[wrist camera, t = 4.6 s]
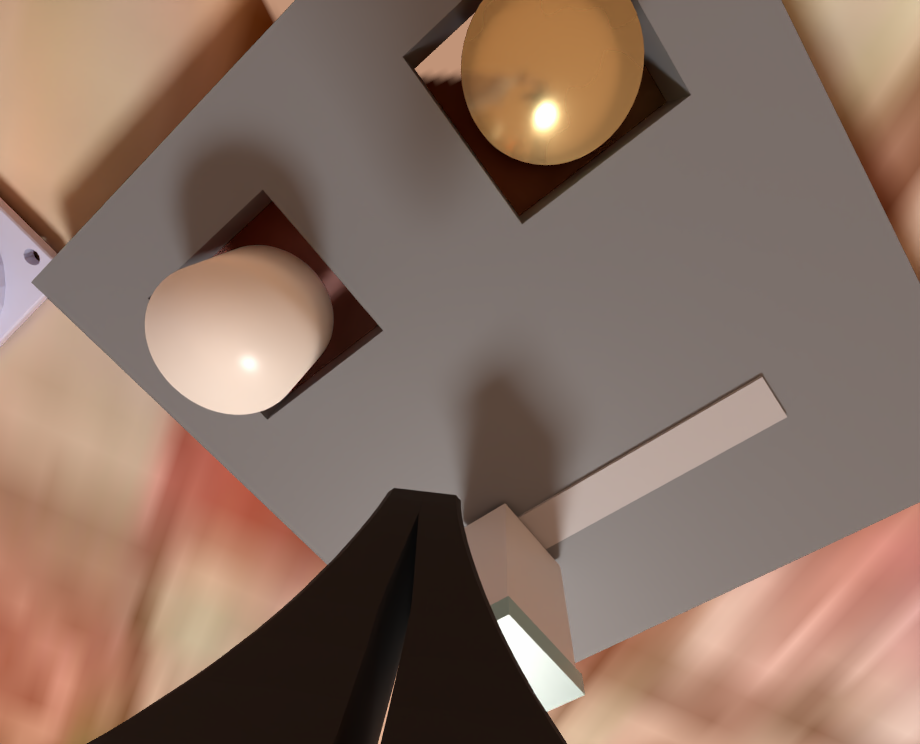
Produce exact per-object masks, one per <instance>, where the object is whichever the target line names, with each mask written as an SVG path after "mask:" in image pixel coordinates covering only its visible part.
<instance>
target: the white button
mask: <svg viewBox="0 0 920 744" xmlns="http://www.w3.org/2000/svg"><path fill="white" fill-rule="evenodd" d="M333 325H334V313H333V307H332V303H331V299H330V296H329V294H328V292H327V289H326V287H325V286H324V284H323V282H322V281H321V279H320V278H319V277H318V275H317V274H316V273H315V272H314V271H313V269H312V268H311V267H310V266H309V265H307V264H306V263H305V262H304V261H302V260H301V259H300V258H298V257H297V256H295V255H293V254H291V253H289V252H287V251H285V250H282V249H279V248H277V247H272V246H267V245H248V246H243V247H239V248H237V249H234V250H231V251H229V252H226V253H223V254H220V255H218V256H215V257H212V258H209V259H207V260H204V261H201V262H199V263H196V264H193V265H190V266H188V267H185V268H182V269H180V270H177V271H176V272H174V273H172V274H170V275H169V276H168V277H167V278H165V279H164V280H163V281H162V282H161V283H160V284H159V285H158V286H157V288H156V289H155V291H154V292H153V294H152V296H151V298H150V300H149V303H148V306H147V310H146V314H145V335H146V340H147V345H148V348H149V351H150V354H151V356H152V358H153V360H154V362H155V364H156V366H157V367H158V369H159V371H160V372H161V373H162V375H163V376H164V377H165V379H166V380H167V381H168V382H169V383H170V384H171V385H172V386H173V387H174V388H175V389H176V390H177V391H178V392H179V393H181V394H182V395H183V396H185V397H186V398H188V399H189V400H191V401H192V402H194V403H196V404H198V405H200V406H202V407H204V408H207V409H209V410H212V411H216V412H220V413H225V414H233V415H245V414H252V413H257V412H260V411H263V410H266V409H268V408H270V407H272V406H274V405H275V404H277V403H278V402H280V401H281V400H282V399H283V398H284V397H285V396H286V395H287V394H288V393H289V392H290V391H291V390H292V388H293V387H294V386H295V385H296V384H297V383H298V382H299V380H300V379H301V378H302V377H303V376H304V375H305V373H306V372H307V371H308V370H309V369H310V368H311V367H312V365H313V364H314V363H315V362H316V361H317V360H318V358H319V357H320V356H321V355H322V354H323V352H324V351H325V349H326V348H327V346H328V344H329V342H330V339H331V336H332V332H333Z"/></svg>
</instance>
